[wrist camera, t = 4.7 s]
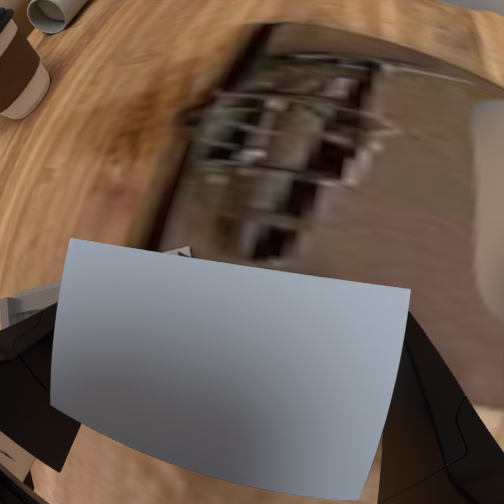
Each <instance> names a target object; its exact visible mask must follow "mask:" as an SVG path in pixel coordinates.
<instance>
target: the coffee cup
mask: <svg viewBox="0 0 504 504" xmlns="http://www.w3.org/2000/svg"><path fill="white" fill-rule="evenodd" d="M13 14H14V11H13V10H12V9H7V10H6V9H5V8H0V114H1V115H3V116H6V117H8V118H10V119H23V118H24V117H26V116H28V115H29V114H30V113H31V112H32V111H33V110H34V109H35V108H36V107H37V106H38V104H39V103H40V102H41V101H42V99H43V97H44V96H45V94H46V92H47V90H48V88H49V85H50V77H49V73H48V72H47V70H46V69H45V68H44V66H43V65H42V63H41V62H40V58H39V56H38V55H37V53H36V52H35V50H34V49H33V47H32V46H31V44H30V43H29V41H28V40H27V38H26V37H25V35H24V34H23V32H22V31H21V29H20V28H19V27H18V26H16V25H15V23H14V22H13V20H12V19H11V18H12V16H13Z"/></svg>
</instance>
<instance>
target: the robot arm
mask: <svg viewBox="0 0 504 504" xmlns="http://www.w3.org/2000/svg"><path fill="white" fill-rule="evenodd" d="M57 306H58V302H56V303H54V304H52V305H50V306H48V307H46V308H45V310H44V309H43V310H41V311H39V312H37V313H35V314H33V315H31V316H29V317H28V318H26V319H24V320H22V321H19V322H17V323H15V324H13V325H11V326H9V327H7V328H4V329H2V330H0V504H49V503H48V502H46V501H45V500H44V499H42V498H41V497H40V496H39V495H37V494H36V493H35V492H33V490H34V485H33V481H32V476H31V471H30V468H31V467H32V465H33V463H34V461H35V460H36V458H37V459H39V460H40V461H42V462H43V463H45V464H46V465H48V466H49V467H51V468H52V469H54V470H56V471H57V472H59V473H60V472H61V470H62V468H63V465H64V463H65V461H66V458H67V456H68V453H69V451H70V449H71V446H72V444H73V442H74V440H75V437H76V435H77V433H78V431H79V428H80V425H81V424H82V423H80V422H78V421H76V420H75V419H73V418H71V417H69V416H68V415H66V414H64V413H63V412H61V411H59V410H58V409H56V408H54V407H53V406H51V405H50V388H51V365H52V351H53V339H54V330H55V321H56V313H57ZM377 504H504V452H503V451H502V449H501V448H500V446H499V445H498V443H497V442H496V441H495V439H494V438H493V436H492V435H491V433H490V432H489V431H488V429H487V428H486V426H485V425H484V423H483V422H482V420H481V419H480V417H479V416H478V414H477V412H476V411H475V409H474V408H473V406H472V404H471V403H470V401H469V399H468V398H467V396H465V393H464V391H463V390H462V388H461V387H460V385H459V383H458V382H457V380H456V379H455V377H454V375H453V374H452V372H451V371H450V369H449V368H448V366H447V365H446V363H445V361H444V360H443V358H442V357H441V355H440V354H439V352H438V351H437V349H436V348H435V347H434V345H433V344H432V342H431V341H430V339H429V338H428V336H427V335H426V333H425V332H424V331H423V329H422V328H421V326H420V325H419V324H418V322H417V321H416V319H415V318H414V317H413V315H412V314H411V312H410V311H408V315H407V322H406V328H405V334H404V340H403V346H402V352H401V357H400V362H399V367H398V372H397V376H396V381H395V385H394V390H393V394H392V398H391V402H390V406H389V410H388V413H387V417H386V421H385V424H384V428H383V439H382V458H381V471H380V483H379V493H378V502H377Z"/></svg>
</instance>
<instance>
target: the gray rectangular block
mask: <svg viewBox="0 0 504 504" xmlns="http://www.w3.org/2000/svg"><path fill="white" fill-rule="evenodd" d="M410 291H411V289H404V288H397V287H389V286H382V285H374V284H367V283H360V282H352V281H345V280H338V279H331V278H324V277H316V276H309V275H302V274H296V273H289V272H282V271H275V270H268V269H261V268H255V267H248V266H241V265H235V264H228V263H222V262H215V261H209V260H202V259H196V258H189V257H183V256H177V255H171V254H164V253H158V252H152V251H146V250H140V249H133V248H127V247H121V246H115V245H109V244H103V243H97V242H91V241H86V240H80V239H74V238H70V242H69V246H68V251H67V256H66V260H65V265H64V270H63V276H62V281H61V287H60V293H59V299H58V306H57V313H56V321H55V330H54V339H53V351H52V365H51V388H50V405H51V406H53V407H54V408H56V409H58V410H59V411H61V412H63V413H64V414H66V415H68V416H69V417H71V418H73V419H75V420H76V421H78V422H80V423H82V424H84V425H86V426H87V427H89V428H91V429H93V430H95V431H97V432H99V433H101V434H103V435H105V436H107V437H109V438H111V439H113V440H115V441H117V442H119V443H122V444H124V445H126V446H128V447H130V448H133V449H135V450H137V451H140V452H142V453H144V454H147V455H149V456H152V457H154V458H157V459H160V460H162V461H165V462H167V463H170V464H173V465H176V466H179V467H182V468H185V469H188V470H191V471H194V472H197V473H200V474H203V475H207V476H210V477H214V478H217V479H221V480H224V481H228V482H232V483H236V484H240V485H245V486H249V487H254V488H258V489H263V490H269V491H274V492H280V493H286V494H292V495H299V496H307V497H315V498H325V499H337V500H355V501H358V499H359V497H360V494H361V492H362V489H363V487H364V484H365V482H366V479H367V476H368V474H369V471H370V468H371V465H372V462H373V459H374V456H375V453H376V450H377V447H378V444H379V441H380V438H381V434H382V431H383V428H384V424H385V421H386V417H387V413H388V410H389V406H390V402H391V398H392V394H393V390H394V385H395V381H396V376H397V372H398V367H399V362H400V357H401V352H402V346H403V340H404V334H405V328H406V322H407V315H408V307H409V299H410Z"/></svg>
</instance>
